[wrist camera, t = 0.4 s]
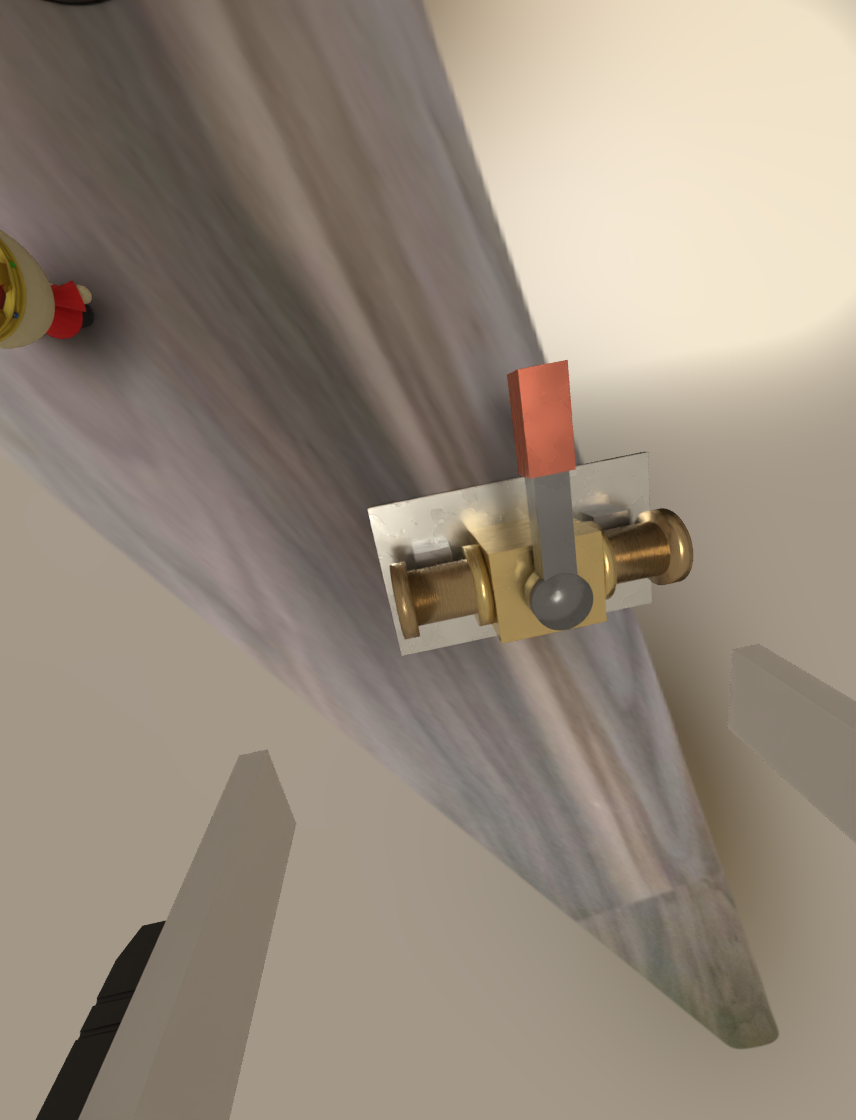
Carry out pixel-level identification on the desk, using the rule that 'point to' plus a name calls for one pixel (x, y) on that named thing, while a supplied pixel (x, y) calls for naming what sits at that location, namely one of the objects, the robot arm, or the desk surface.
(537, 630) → the valve body
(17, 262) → the toy
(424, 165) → the desk surface
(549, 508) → the lever
